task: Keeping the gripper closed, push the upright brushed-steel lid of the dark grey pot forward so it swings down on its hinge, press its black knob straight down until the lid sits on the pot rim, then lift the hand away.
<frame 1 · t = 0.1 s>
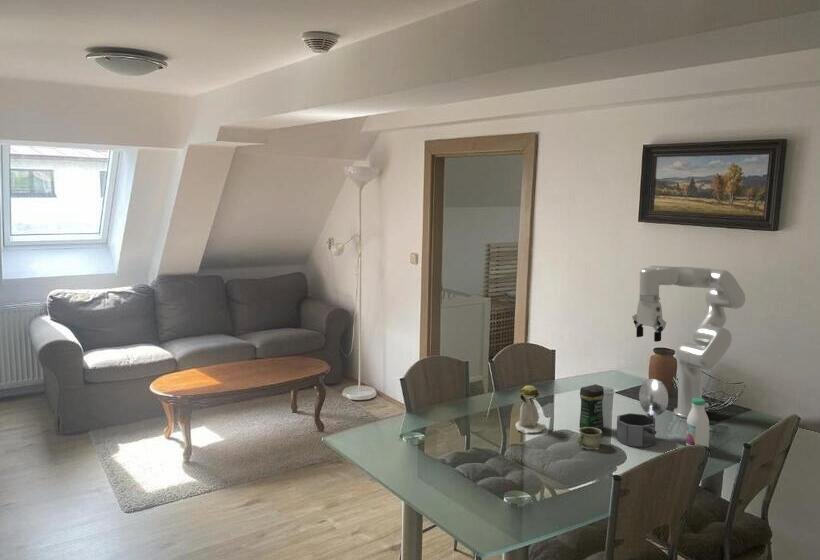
hand: (648, 338, 259), 37 cm above the table, tool pointing down, fingers open, 9 cm apart
lid: (654, 397, 248), point 16 cm above the table, hinge at 100.0°
milk bottle: (697, 451, 235), on the table
pot: (635, 440, 246), on the table
coffee jar: (591, 429, 260), on the table
white figurine: (530, 429, 263), on the table
vessel: (590, 446, 243), on the table
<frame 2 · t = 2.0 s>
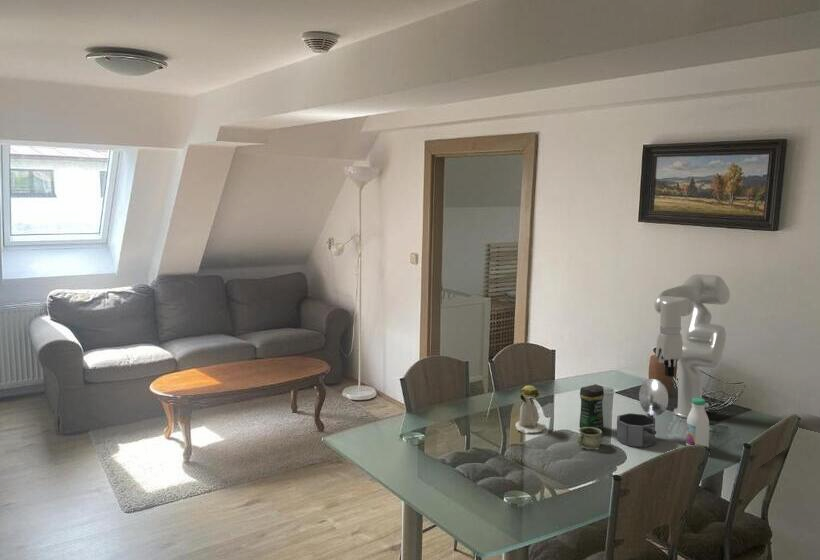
hand: (669, 375, 249), 24 cm above the table, tool pointing down, fingers closed
nothing on the table moved.
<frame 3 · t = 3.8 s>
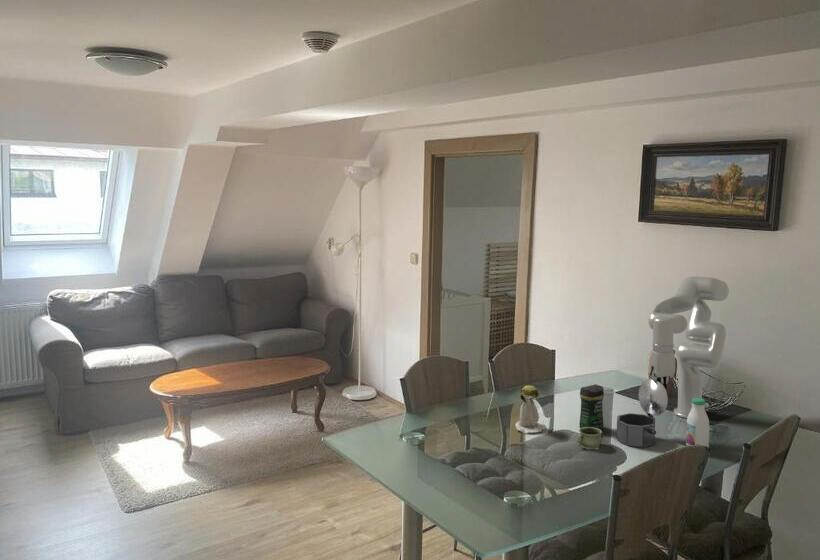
hand: (661, 392, 249), 17 cm above the table, tool pointing down, fingers closed
lid: (653, 397, 248), point 16 cm above the table, hinge at 97.5°, touching gripper
everything else where it was.
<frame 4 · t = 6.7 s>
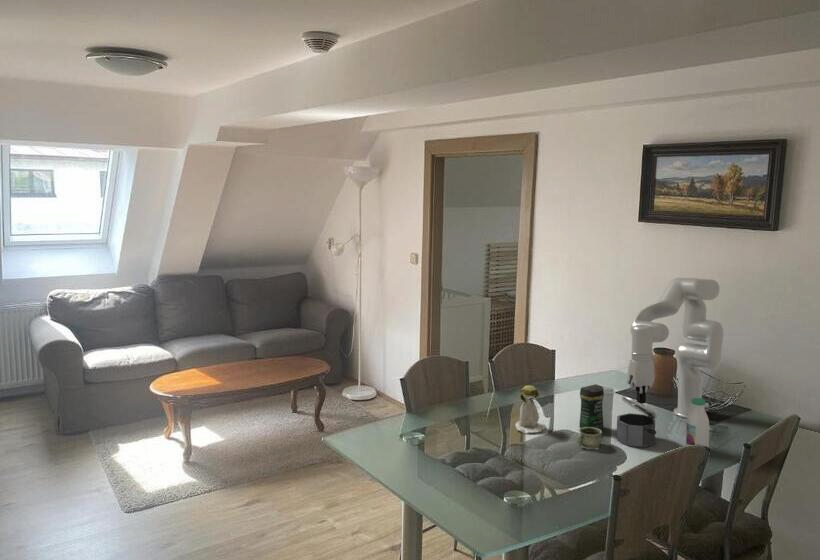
hand: (641, 402, 245), 15 cm above the table, tool pointing down, fingers closed
lid: (640, 406, 245), point 14 cm above the table, hinge at 37.1°, touching gripper
everything else where it was.
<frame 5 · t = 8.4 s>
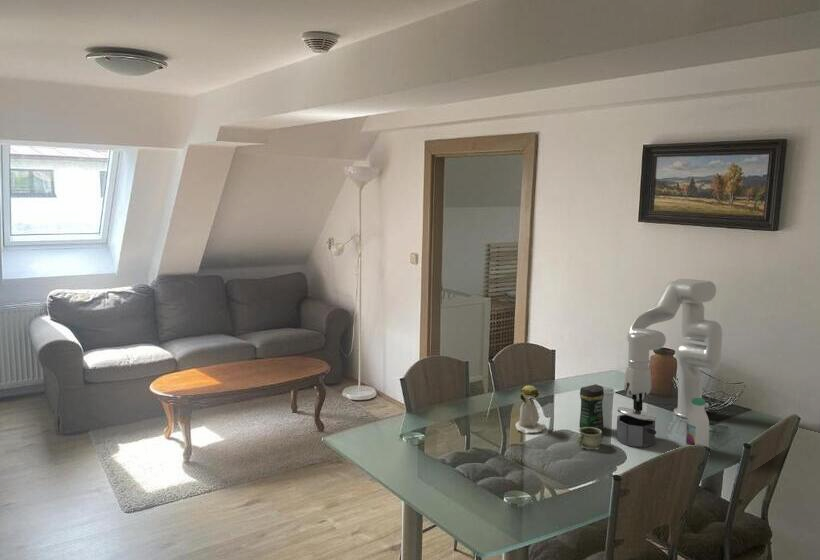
hand: (637, 409, 245), 12 cm above the table, tool pointing down, fingers closed
lid: (637, 412, 245), point 11 cm above the table, hinge at 14.4°, touching gripper
everything else where it was.
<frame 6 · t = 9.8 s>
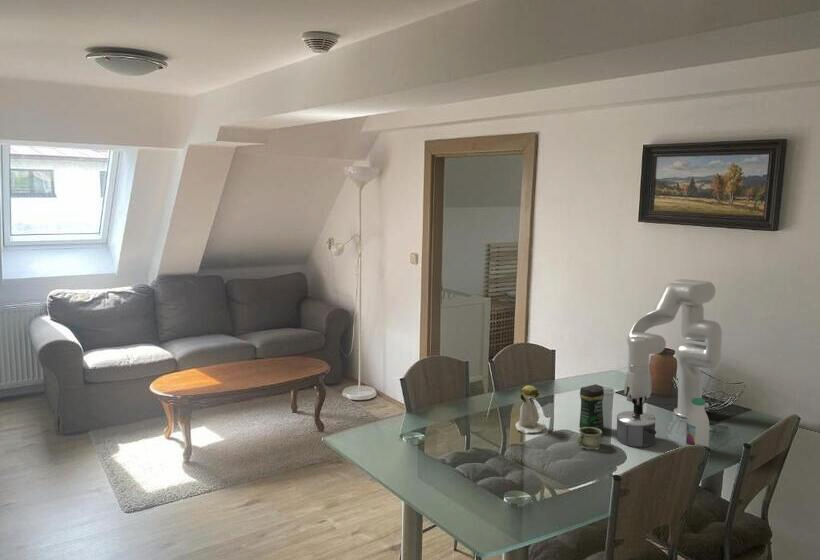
hand: (638, 413, 245), 11 cm above the table, tool pointing down, fingers closed
lid: (636, 417, 245), point 9 cm above the table, hinge at 0.0°, touching pot
everything else where it was.
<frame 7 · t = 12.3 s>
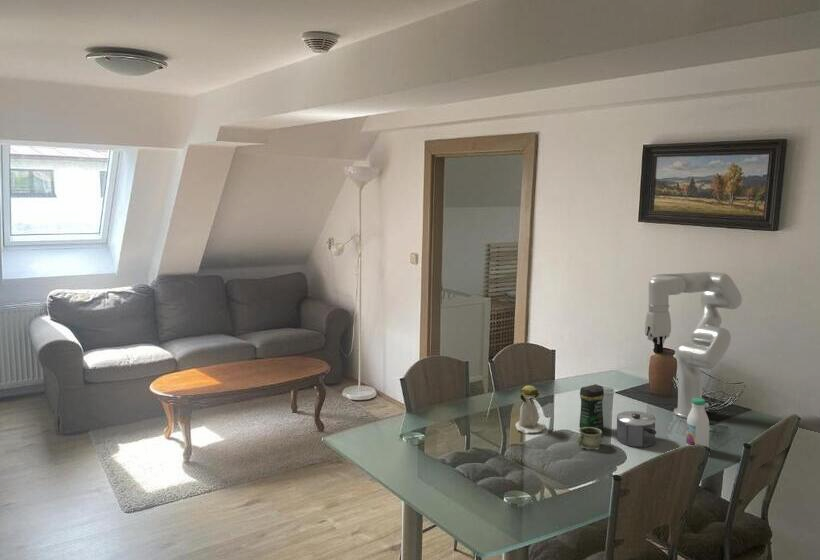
hand: (658, 352, 256), 32 cm above the table, tool pointing down, fingers closed
nothing on the table moved.
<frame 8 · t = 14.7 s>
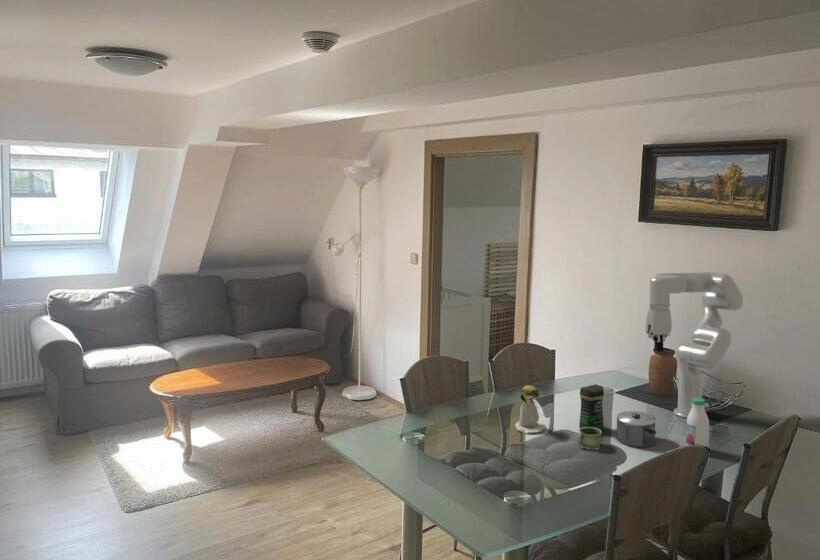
hand: (658, 350, 257), 32 cm above the table, tool pointing down, fingers closed
nothing on the table moved.
at the end: lid at +0° (first picture: +100°) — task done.
